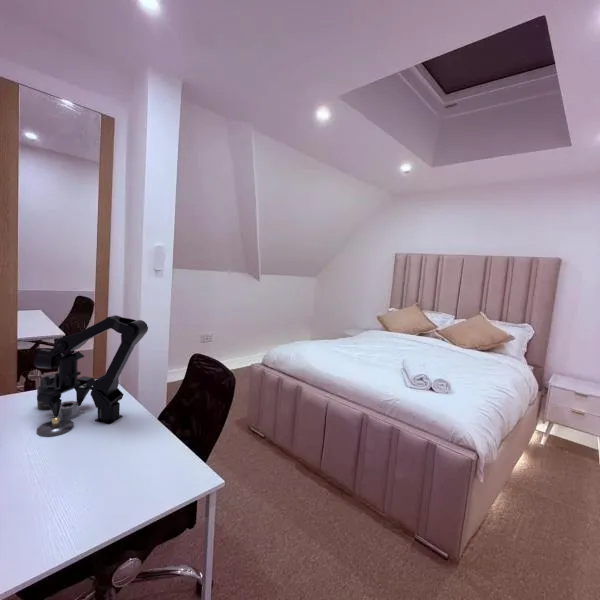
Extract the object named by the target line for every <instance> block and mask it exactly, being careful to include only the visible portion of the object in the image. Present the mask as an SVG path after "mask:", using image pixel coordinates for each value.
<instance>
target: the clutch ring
mask: <svg viewBox="0 0 600 600" xmlns="http://www.w3.org/2000/svg"><path fill="white" fill-rule="evenodd" d="M78 411H79V406H78V402H77V400H75V401H74V400H68V401H63V402H62V401H61V406H60V410H59V414H58V416H57V417H60V419H62V420H63V419H70V418H73V417H75V416H77V415H78Z"/></svg>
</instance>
